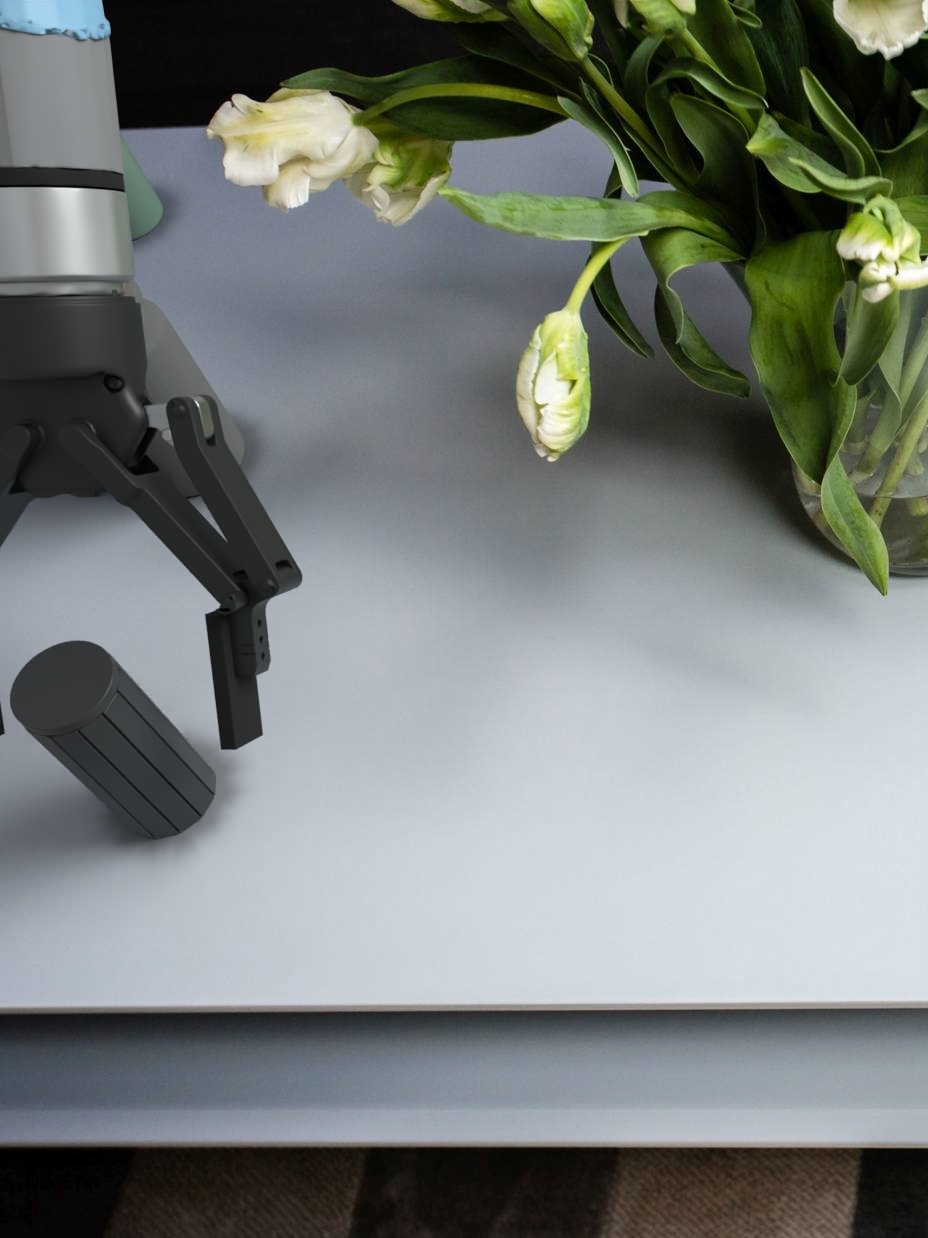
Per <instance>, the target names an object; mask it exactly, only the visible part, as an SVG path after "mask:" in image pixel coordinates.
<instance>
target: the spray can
mask: <svg viewBox="0 0 928 1238" xmlns="http://www.w3.org/2000/svg"><path fill="white" fill-rule="evenodd" d="M120 140H121V150H122V159H123V168H124V175H123V178H124V185H125V192H124V193H126V195H127V203H128V212H129V220H130V229H131V237H132V241H134V240H137V239H139V238H142V237H144V236H145V235H147V234H148V233H150V232H151V231H153V230H154V229H155V227H157V226H158V224H159V223H160V222H161V220H162V218H163V215H164V206H163V203H162V202H161V199H160V198H159V196H158V195H157V192H156V191H155V189H154V188H153V186H152V185H151V183H150V181H149V180H148V178H147V176H146V174H145V173H144V171H143V169H142V168H141V166H140V164H139V163H138V161H137V159H136V158H135V156H134V154H133V152H132V151H131V149H130V147H129V146H128V143H127V142H126V140H125V139H124V137H123V136H122V133H120Z"/></svg>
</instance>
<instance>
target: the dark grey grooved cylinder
mask: <svg viewBox="0 0 928 1238" xmlns="http://www.w3.org/2000/svg"><path fill="white" fill-rule="evenodd" d="M9 705H10V710H11V713H12V714H13V717H14V718H15V719H16V720H17V721H18V722H19V724H21V725H22V726H23V727H24V729H25V730H26V731H27V732H28V733H29V734H30V735H31V736H32V738H34V739H35V740H36V741H37V742H38V743H39V744H40V745H41V746H42V747H43V748H44V749H45V750H47V751H48V752H49V753H50V754H51V756H53V757H54V758H55V759H56V760H57V761H58V762H59V763H60V764H61V765H62V766H63V767H64V768H65V769H67V770H68V771H69V772H70V773H71V774H72V775H73V776H74V777H75V778H76V779H77V780H78V781H79V782H80V783H81V784H82V785H83V786H85V787H86V789H87V790H89V791H90V792H91V793H92V794H93V795H94V796H95V797H96V798H97V799H98V800H99V801H101V803H102V804H103V805H105V807H106V808H107V809H109V810H110V811H111V812H112V813H113V814H114V815H115V816H116V817H117V818H118V819H119V820H120V821H122V822H123V823H124V825H126V827H128V828H129V829H130V830H131V831H132V832H134V833H135V834H138V835H141V836H144V837H147V838H150V839H154V838H155V839H160V838H166V837H170V836H174V835H178V834H179V833H183V832H184V831H186V830H187V829H189V828H190V827H192V826H193V825H194V824H195V823H197V822H198V821H200V820H201V818H202V817H204V816H205V814H206V812H207V810H208V809H209V807H210V805H211V804H212V802H213V801H214V799H215V795H216V785H217V784H216V782H217V781H216V779H217V775H216V773H215V771H214V769H213V768H212V767H211V766H210V764H209V763H208V761H207V760H206V759H205V758H204V757H203V755H201V753H200V752H199V751H198V750H197V749H196V748H195V747H194V745H193V744H192V743H191V742H190V741H189V740H188V739H187V738H186V737H185V736H184V734H183V733H182V732H181V731H180V730H179V729H178V728H177V726H175V724H174V723H173V722H172V721H171V720H170V718H168V717H167V715H166V714H165V713H164V712H163V711H162V710H161V709H160V707H159V706H157V704H156V703H155V702H154V701H153V700H152V699H151V697H149V696H148V694H147V693H146V692H145V691H144V690H143V689H142V688H141V687H140V686H139V684H138V683H137V682H136V681H135V680H134V679H133V678H132V676H131V675H130V674H129V673H128V672H127V670H125V669H124V668H123V667H122V666H121V664H120V663H119V662H118V661H117V660H116V658H114V656H113V655H112V654H111V653H109V652H108V651H107V650H106V649H105V648H104V647H102V646H101V645H100V644H97V643H94V642H92V641H87V640H79V639H78V640H69V641H63V642H59V643H56V644H54V645H52V646H51V645H50V646H49V647H47V648H45V649H43V650H41V651H40V652H38V653H37V654H36V655H34V656H33V657H32V658H31V659H30V660H29V661H27V662H26V663H25V665H23V666H22V668H21V669H20V671H19V672H18V673H17V675H16V677H15V679H14V680H13V683H12V686H11V689H10V694H9Z"/></svg>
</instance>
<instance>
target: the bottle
mask: <svg viewBox="0 0 928 1238" xmlns="http://www.w3.org/2000/svg"><path fill="white" fill-rule="evenodd" d="M123 286H124V292H125V294H124V295H123V296H134V297H135V302H136V303H140V305H141V313H142V321H143V329H144V337H145V345H146V353H147V361H148V366H147V372H146V388H147V391H148V393H149V396H150V397H151V399H152V401H153V402H154V404H160V403H166V402H169V401H170V400H171V399H172V398H175V397H184V396H193V395H202V394H203V395H209V396H211V397H212V398H213V399H214V400H215V402H216V404H217V407H218V412H219V416H220V421H221V425H222V430H223V434H224V439H225V442H226V444H227V446H228V447H229V449H230V451H231V452H232V454H233V456H234V458H235V459H236V461H237V463H238V464H239V466H240V467H241V464H242V462H243V459H244V456H245V449H246V447H245V441H244V438H243V436H242V434H241V432H240V430H239V428H238V427H237V425H236V423H235V422H234V420H233V419H232V417H231V415H230V414H229V412H228V411H227V409H226V408H225V406H224V404H223V403H222V401H221V399H220V398H219V396H218V395H217V393H216V392H215V390H214V389H213V387H212V385H211V384H210V382H209V381H208V380H207V378H206V376H205V375H204V373H203V372H202V370H201V368H200V367H199V365H198V364H197V362H196V361H195V359H194V358H193V356H192V354H191V353H190V351H189V350H188V349H187V347H186V345H185V343H184V342H183V340H182V339H181V337H180V336H179V334H178V333H177V331H176V330H175V327H174V326H173V325H172V323H171V322H170V321H169V319H168V317H167V315H165V313H164V312H163V310H162V309H161V308H160V307H159V306H158V305H157V304H156V303H154V302H153V301H152V300H149V299H147V298H144V297H143V293H142V290H141V287H140V286H139V285H138V283H137V282H136V280H135V278H134V279H133V280H132V281H131V282H128V283H123ZM161 434H162V433H161V431H160V430H158V431H157V433H156V435H155V437H154V439H153V441H152V442H151V444H150V446H149V448H148V450H149V451H150V452H151V453H152V454H153V455H154V456H155V457H156V458H157V460H158V461H159V462H160V463H161V464H162V465H163V466H164V467H165V468H166V469H167V470H168V471H169V473H170V474H171V475H172V476H173V477H174V480H175V482H174V484H175V486H176V487H177V488H178V489H179V490H180V492H181V493H182V494H183V495H184V496H185V497H186V498H187V497H196V496H200V494H199V493H198V491H197V489H196V488H195V486H194V484H193V483H192V481H191V479H190V478H189V476H188V474H187V472H186V471H185V469H184V467H183V465H182V464H181V462H180V460H179V458H178V455H177V453H176V450H175V447H174V446H171V445H170V444H168V443H167V441H165V440H164V439H163V438H162V435H161Z"/></svg>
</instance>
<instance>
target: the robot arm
mask: <svg viewBox="0 0 928 1238" xmlns="http://www.w3.org/2000/svg"><path fill="white" fill-rule="evenodd" d="M111 31H112V30H111V25H110V22H109V20H108V19H107V18H106V16H105V11H104V6H103V0H0V549H1V548H2V546H3V545H4V544H5V541H7V538H8V537H9V536H10V533H11V532H12V530H13V529H14V527H15V526H16V524H17V522H18V521H19V519H20V518H21V517H22V515H23V513H24V512H25V510H26V509H27V507H28V505H29V504H30V503H32V502H33V501H34V500H36V499H51V498H56V497H57V498H58V497H61V496H67V495H68V496H72V497H77V498H81V499H83V498H84V499H85V498H100V497H104V496H111V497H112V498H113V499H114V500H115V501H116V502H117V503H119V504H120V505H122V506H125V507H127V508H129V509H131V511H133V512H134V513H135V515H137V517H138V518H139V519H140V520H141V521H142V522H143V523H144V524H145V525H146V526H147V528H149V530H150V531H152V533H153V534H154V535H155V536H156V537H157V539H158V540H160V542H162V544H163V545H164V546H165V547H166V548H167V549H168V550H169V551H170V552H171V554H173V555H174V557H176V558H177V560H178V561H179V562H180V563H181V564H182V565H183V566H184V567H185V568H186V570H187V571H188V572H189V573H190V574H191V575H192V576H193V577H194V578H195V579H196V580H197V582H198V583H199V584H200V585H202V586H203V588H204V589H205V590H206V591H207V592H208V593H209V594H210V595H211V596H212V597H213V599H215V601H216V602H217V603H218V604H220V605H218V608H216V609H215V610H212V611H211V612H210V611H209V612H208V613H205V614H204V617H205V626H206V635H207V642H208V650H209V651H208V652H209V660H210V668H211V678H212V685H213V693H214V694H213V695H214V704H215V711H216V719H217V720H216V721H217V726H218V727H217V728H218V734H219V745H220V750H223V751H236V750H239V749H240V748H242V747H244V746H246V745H248V744H250V743H251V742H253V741H255V740H257V739H259V738H260V737H262V736H264V730H263V721H262V713H261V705H260V696H259V686H258V678H257V676H259V675H261V674H263V673H266V672H268V671H269V669H270V665H271V662H272V658H271V657H272V655H271V650H270V641H269V630H268V621H267V605H268V603H269V602H270V601H271V600H272V599H273V598H275V597H277V596H280V595H283V594H285V593H287V592H290V591H293V590H295V589H297V588H299V587H300V586H301V584H302V582H303V574H302V570H301V568H300V567H299V565H298V564H297V562H296V560H295V559H294V557H293V555H292V553H291V552H290V550H289V548H288V546H287V545H286V543H285V541H284V539H283V538H282V536H281V534H280V533H279V531H278V529H277V528H276V526H275V524H274V522H273V521H272V519H271V517H270V516H269V514H268V512H267V511H266V509H265V508H264V506H263V504H262V502H261V500H260V498H259V497H258V495H257V494H256V492H255V490H254V488H253V487H252V485H251V483H250V482H249V479H248V478H247V476H246V474H245V473H244V471H243V469H242V468H241V465H240V466H239V464H238V463H237V461H236V459H235V458H234V456H233V454H232V452H231V451H230V449H229V447H228V446H227V444H226V442H225V439H224V434H223V430H222V425H221V421H220V416H219V412H218V407H217V404H216V402H215V400H214V399H213V398H212V397H211V396H209V395H203V394H202V395H193V396H184V397H175V398H172V399H171V400H170V401H169V402H166V403H160V404H154V402H153V401H152V399H151V397H150V396H149V393H148V391H147V388H146V372H147V366H148V361H147V353H146V345H145V337H144V329H143V321H142V313H141V305H140V303H136V302H135V297H134V296H123V295H124V294H125V292H124V286H123V283H128V282H131V281H132V280H133V279H134V280H135V278H136V277H137V270H136V263H135V255H134V246H133V240H132V237H131V229H130V220H129V212H128V203H127V195H126V193H124V192H125V185H124V178H123V175H124V168H123V159H122V150H121V140H120V134H121V133H120V124H119V123H120V122H119V114H118V113H119V112H118V104H117V94H116V86H115V77H114V67H113V58H112V49H111V48H112V47H111V41H110V36H111V35H112V34H111V33H112V32H111ZM158 430H160V431H161V433H162V434H161V435H162V438H163V439H164V440H165V441H167V443H168V444H170V445H171V446H174V447H175V450H176V453H177V455H178V458H179V460H180V462H181V464H182V465H183V467H184V469H185V471H186V472H187V474H188V476H189V478H190V479H191V481H192V483H193V484H194V486H195V488H196V489H197V491H198V493H199V494H200V495H199V496H200V498H201V500H202V501H203V503H204V505H205V506H206V508H207V510H208V512H209V513H210V515H211V517H212V518H213V520H214V521H215V524H216V525H217V527H218V528H219V530H220V532H221V533H222V534H220V532H219V531H218V530H217V529H216V528H215V527H214V526H213V525H212V524H211V523H210V522H209V520H208V519H207V518H206V517H205V516H204V515H203V514H202V513H201V511H199V510H198V508H197V507H196V506H195V505H194V504H193V503H192V501H190V500H189V499H188V498H187V497H185V496H184V495H183V494H182V493H181V492H180V490H179V489H178V488H177V487H176V486H175V484H174V482H175V480H174V477H173V476H172V475H171V474H170V473H169V471H168V470H167V469H166V468H165V467H164V466H163V465H162V464H161V463H160V462H159V461H158V460H157V458H156V457H155V456H154V455H153V454H152V453H151V452H150V451H149V450H148V448H149V446H150V444H151V442H152V441H153V439H154V437H155V435H156V433H157V431H158ZM4 723H5V722H4V717H3V711H2V703H1V702H0V737H1V736H3V735H6V731H5V724H4Z"/></svg>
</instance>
